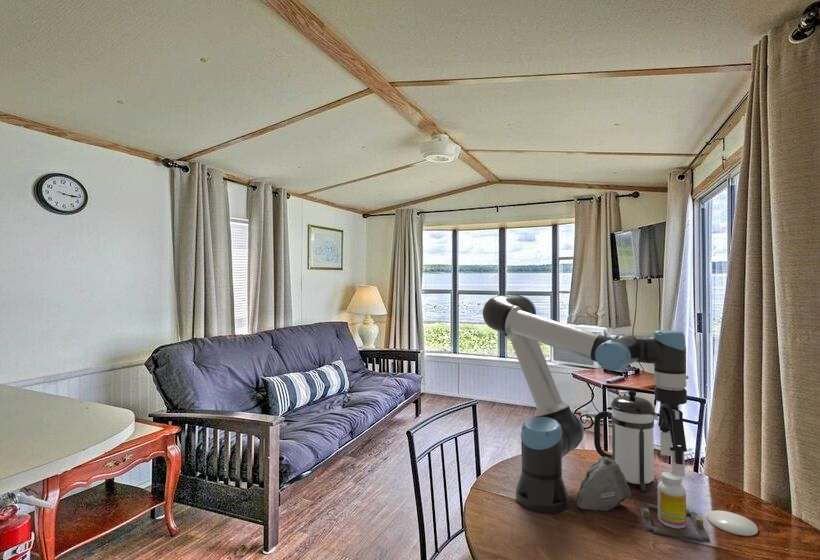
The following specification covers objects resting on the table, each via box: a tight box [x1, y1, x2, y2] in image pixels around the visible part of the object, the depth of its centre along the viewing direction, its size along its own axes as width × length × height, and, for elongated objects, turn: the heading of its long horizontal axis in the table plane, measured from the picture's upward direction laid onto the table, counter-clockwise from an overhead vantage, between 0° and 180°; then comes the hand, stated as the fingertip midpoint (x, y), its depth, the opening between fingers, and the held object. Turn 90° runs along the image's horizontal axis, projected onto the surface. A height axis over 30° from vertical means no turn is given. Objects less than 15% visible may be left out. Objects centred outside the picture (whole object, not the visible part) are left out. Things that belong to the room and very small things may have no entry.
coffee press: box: [593, 389, 659, 493], centre depth 139 cm, size 17×16×30 cm
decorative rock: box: [576, 456, 632, 512], centre depth 122 cm, size 16×7×15 cm, turn 93°
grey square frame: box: [638, 502, 711, 543], centre depth 115 cm, size 14×14×2 cm
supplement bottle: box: [657, 471, 687, 530], centre depth 115 cm, size 7×7×13 cm
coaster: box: [706, 509, 759, 537], centre depth 114 cm, size 11×11×1 cm
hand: (671, 464), depth 115 cm, fingers open, 13 cm apart
